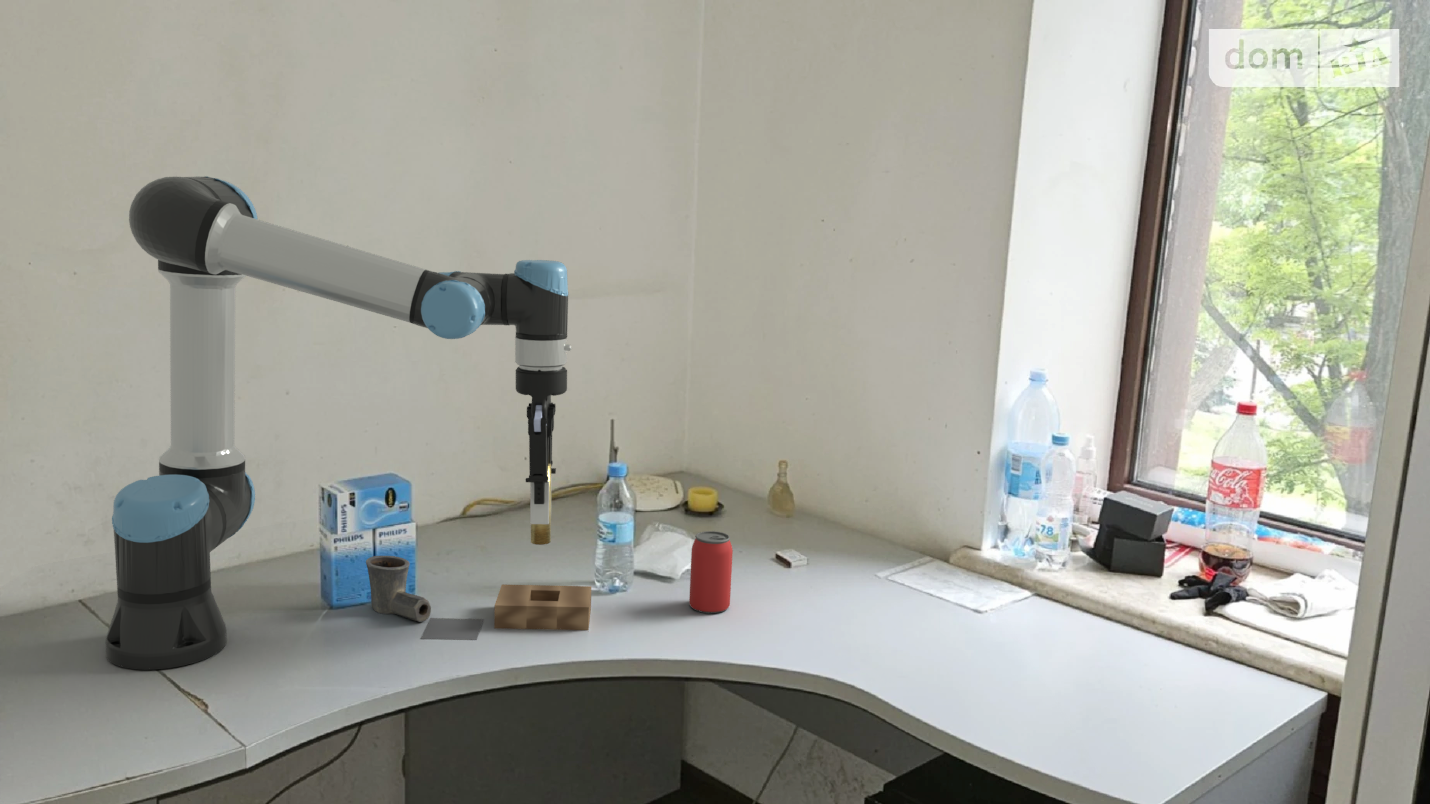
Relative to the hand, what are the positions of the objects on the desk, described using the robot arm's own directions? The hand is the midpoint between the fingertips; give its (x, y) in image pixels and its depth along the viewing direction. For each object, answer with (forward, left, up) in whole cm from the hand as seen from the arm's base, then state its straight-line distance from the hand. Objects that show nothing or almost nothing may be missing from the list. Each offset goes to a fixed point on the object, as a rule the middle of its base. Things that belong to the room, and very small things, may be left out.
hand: (540, 519), depth 170 cm
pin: (0, 0, -3) cm, 3 cm away
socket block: (+1, +1, -16) cm, 16 cm away
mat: (-12, -4, -16) cm, 21 cm away
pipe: (-22, +2, -17) cm, 27 cm away
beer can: (+27, +8, -16) cm, 32 cm away
